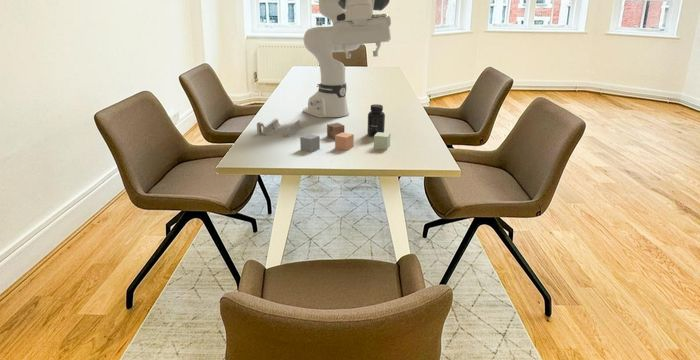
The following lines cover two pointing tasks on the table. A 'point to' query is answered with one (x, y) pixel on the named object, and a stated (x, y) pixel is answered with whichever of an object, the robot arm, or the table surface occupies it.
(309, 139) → the slate grey cube
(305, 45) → the robot arm
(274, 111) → the table surface
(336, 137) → the terracotta cube
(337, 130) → the walnut cube
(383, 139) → the sage cube
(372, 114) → the supplement bottle
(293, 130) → the skate ramp
